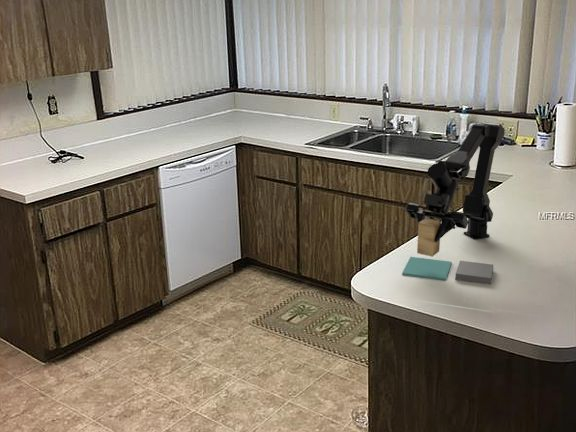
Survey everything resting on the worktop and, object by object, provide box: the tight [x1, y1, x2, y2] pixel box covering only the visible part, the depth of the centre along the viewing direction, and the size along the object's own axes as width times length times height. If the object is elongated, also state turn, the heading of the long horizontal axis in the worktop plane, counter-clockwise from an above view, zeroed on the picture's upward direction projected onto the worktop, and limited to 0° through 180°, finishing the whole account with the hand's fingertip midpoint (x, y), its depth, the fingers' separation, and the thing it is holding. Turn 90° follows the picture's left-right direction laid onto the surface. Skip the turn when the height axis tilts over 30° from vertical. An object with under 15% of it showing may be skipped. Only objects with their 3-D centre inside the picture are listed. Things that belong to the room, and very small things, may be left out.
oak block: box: [416, 217, 442, 257], centre depth 193 cm, size 5×5×10 cm
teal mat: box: [401, 256, 452, 281], centre depth 196 cm, size 13×13×1 cm
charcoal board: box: [454, 260, 494, 285], centre depth 191 cm, size 10×10×2 cm
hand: (427, 239), depth 192 cm, fingers closed on oak block, 5 cm apart
